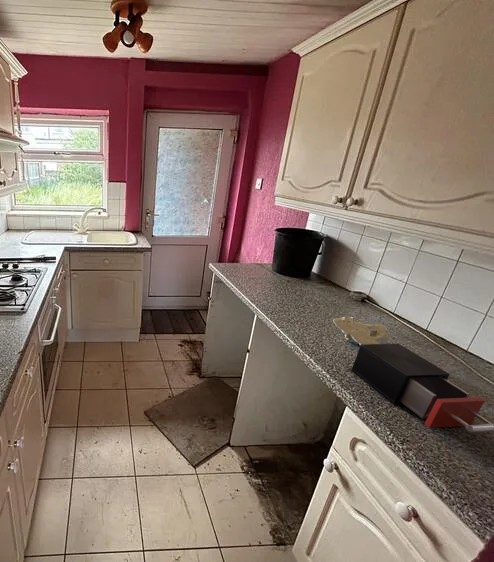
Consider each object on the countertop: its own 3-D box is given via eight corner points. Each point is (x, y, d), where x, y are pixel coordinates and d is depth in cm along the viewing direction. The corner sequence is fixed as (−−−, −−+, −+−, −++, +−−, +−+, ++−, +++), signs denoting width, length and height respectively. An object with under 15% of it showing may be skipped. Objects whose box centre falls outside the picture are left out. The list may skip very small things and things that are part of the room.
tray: (499, 445, 71) (516, 419, 68) (455, 448, 70) (470, 422, 67) (417, 388, 89) (427, 365, 86) (380, 389, 88) (390, 366, 85)
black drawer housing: (435, 402, 85) (450, 374, 82) (393, 404, 84) (406, 375, 80) (387, 369, 99) (398, 343, 95) (351, 370, 97) (360, 344, 94)
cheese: (394, 359, 107) (377, 319, 114) (401, 353, 101) (383, 311, 109) (342, 362, 112) (329, 324, 120) (346, 357, 107) (332, 317, 114)
